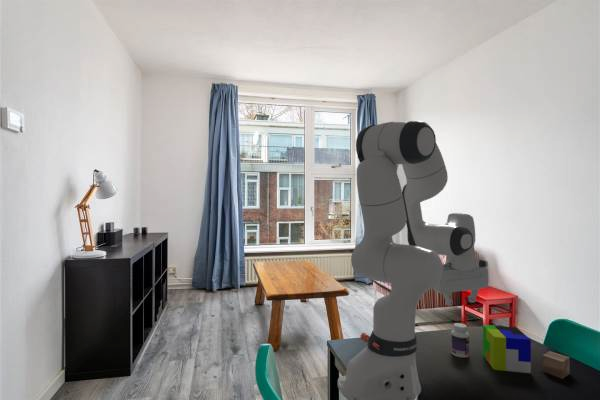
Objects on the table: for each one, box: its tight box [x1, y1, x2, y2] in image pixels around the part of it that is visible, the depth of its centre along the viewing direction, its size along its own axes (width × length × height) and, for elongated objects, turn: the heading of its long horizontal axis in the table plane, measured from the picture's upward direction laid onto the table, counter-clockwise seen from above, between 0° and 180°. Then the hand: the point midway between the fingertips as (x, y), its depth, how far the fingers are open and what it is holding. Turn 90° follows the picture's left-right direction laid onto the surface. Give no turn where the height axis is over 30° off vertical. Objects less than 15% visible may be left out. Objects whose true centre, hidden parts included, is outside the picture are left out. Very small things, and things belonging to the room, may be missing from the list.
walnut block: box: [542, 350, 571, 380], centre depth 101 cm, size 5×5×5 cm
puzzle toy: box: [482, 324, 532, 374], centre depth 107 cm, size 10×10×10 cm
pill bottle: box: [450, 322, 470, 359], centre depth 113 cm, size 5×5×10 cm
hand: (460, 303), depth 113 cm, fingers open, 8 cm apart
